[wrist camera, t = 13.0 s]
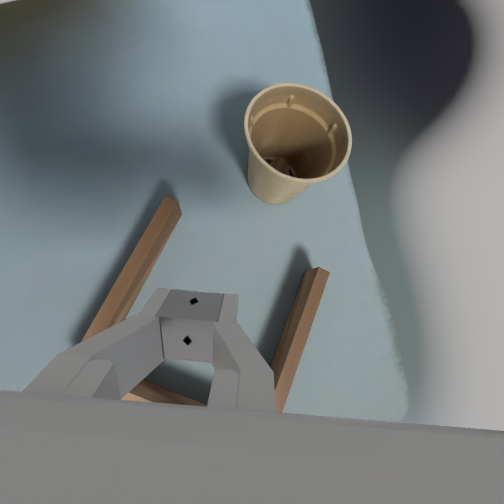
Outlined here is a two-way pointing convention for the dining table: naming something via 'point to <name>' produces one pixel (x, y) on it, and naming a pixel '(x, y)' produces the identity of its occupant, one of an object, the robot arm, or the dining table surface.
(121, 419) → the robot arm
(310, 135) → the flower pot
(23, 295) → the dining table surface
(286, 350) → the wooden u-shaped frame
